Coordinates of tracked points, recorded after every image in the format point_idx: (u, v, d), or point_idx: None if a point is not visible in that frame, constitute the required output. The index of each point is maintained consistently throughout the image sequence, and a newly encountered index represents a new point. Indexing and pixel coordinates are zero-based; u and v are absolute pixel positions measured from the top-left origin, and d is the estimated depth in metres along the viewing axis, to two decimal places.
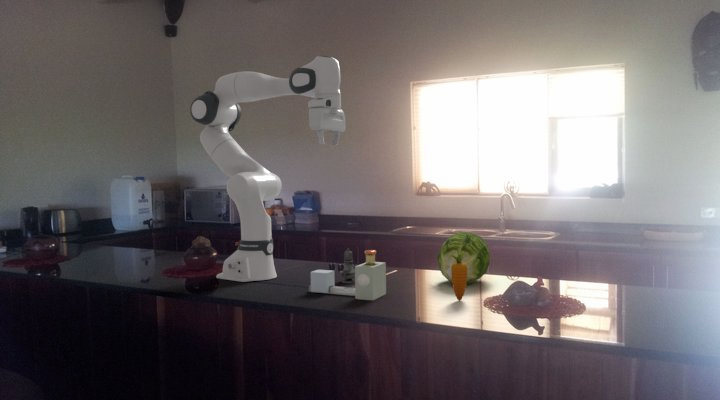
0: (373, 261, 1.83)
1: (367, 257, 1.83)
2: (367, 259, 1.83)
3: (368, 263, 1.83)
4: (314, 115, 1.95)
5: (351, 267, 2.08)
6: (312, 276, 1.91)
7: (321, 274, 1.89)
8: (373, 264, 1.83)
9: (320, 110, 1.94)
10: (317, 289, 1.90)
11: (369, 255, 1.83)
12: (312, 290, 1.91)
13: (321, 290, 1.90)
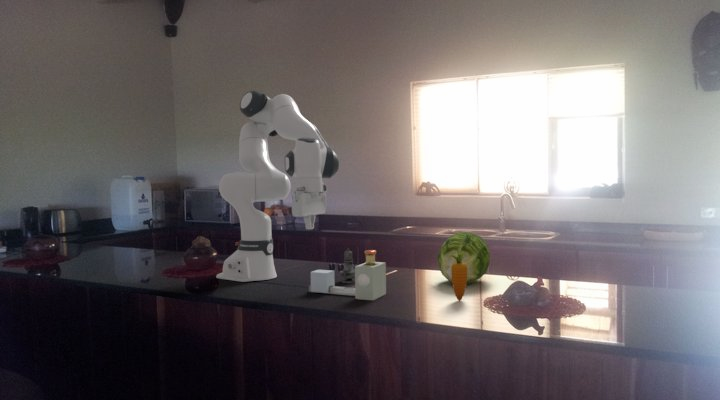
0: (373, 261, 1.83)
1: (367, 257, 1.83)
2: (367, 259, 1.83)
3: (368, 263, 1.83)
4: None
5: (351, 267, 2.08)
6: (312, 276, 1.91)
7: (321, 274, 1.89)
8: (373, 264, 1.83)
9: None
10: (317, 289, 1.90)
11: (369, 255, 1.83)
12: (312, 290, 1.91)
13: (321, 290, 1.90)
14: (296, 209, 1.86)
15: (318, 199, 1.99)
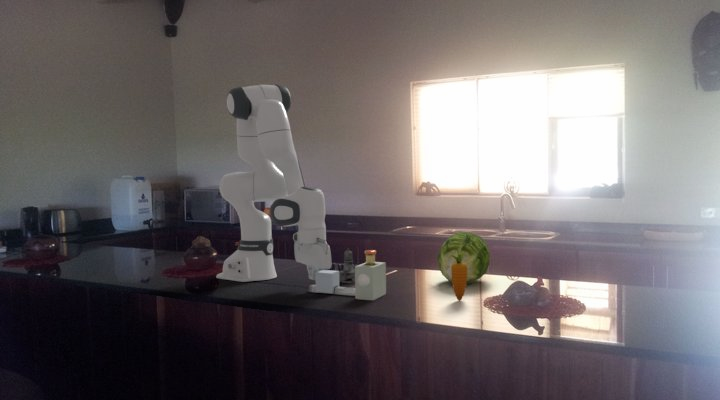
0: (373, 261, 1.83)
1: (367, 257, 1.83)
2: (367, 259, 1.83)
3: (368, 263, 1.83)
4: None
5: (351, 267, 2.08)
6: (317, 276, 1.90)
7: (326, 274, 1.88)
8: (373, 264, 1.83)
9: None
10: (322, 289, 1.89)
11: (369, 255, 1.83)
12: (317, 290, 1.90)
13: (325, 290, 1.89)
14: (326, 262, 1.84)
15: None
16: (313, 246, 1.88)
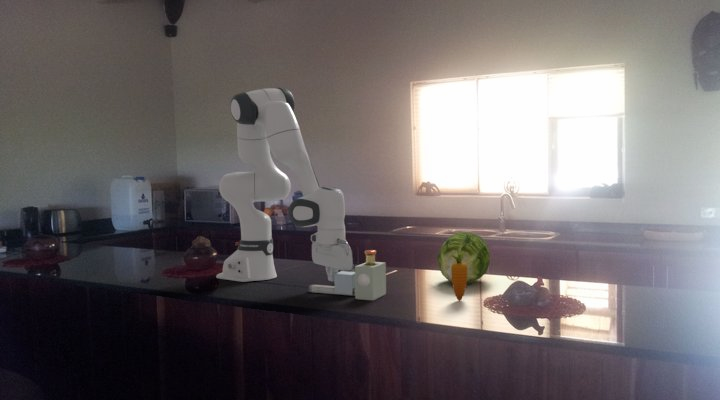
0: (373, 261, 1.83)
1: (367, 257, 1.83)
2: (367, 259, 1.83)
3: (368, 263, 1.83)
4: None
5: None
6: (336, 278, 1.87)
7: (345, 275, 1.86)
8: (373, 264, 1.83)
9: None
10: (341, 291, 1.86)
11: (369, 255, 1.83)
12: (336, 292, 1.87)
13: (345, 292, 1.86)
14: (348, 263, 1.81)
15: None
16: (333, 247, 1.85)
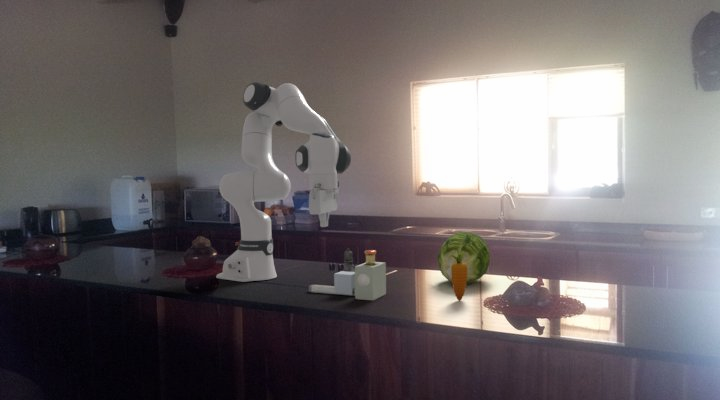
0: (373, 261, 1.83)
1: (367, 257, 1.83)
2: (367, 259, 1.83)
3: (368, 263, 1.83)
4: None
5: (351, 267, 2.08)
6: (336, 278, 1.87)
7: (345, 275, 1.86)
8: (373, 264, 1.83)
9: None
10: (341, 291, 1.86)
11: (369, 255, 1.83)
12: (336, 292, 1.87)
13: (345, 292, 1.86)
14: (314, 207, 1.81)
15: (332, 195, 1.94)
16: None
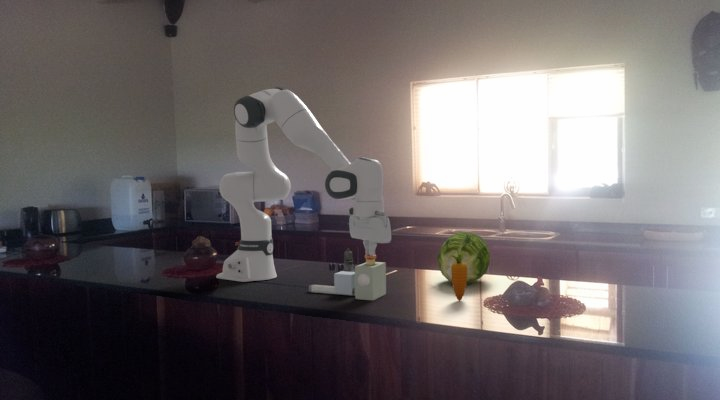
0: (373, 265, 1.83)
1: (367, 261, 1.83)
2: (367, 263, 1.83)
3: None
4: None
5: (351, 267, 2.08)
6: (336, 278, 1.87)
7: (345, 275, 1.86)
8: None
9: None
10: (341, 291, 1.86)
11: (369, 259, 1.83)
12: (336, 292, 1.87)
13: (345, 292, 1.86)
14: (386, 235, 1.75)
15: None
16: (371, 219, 1.79)
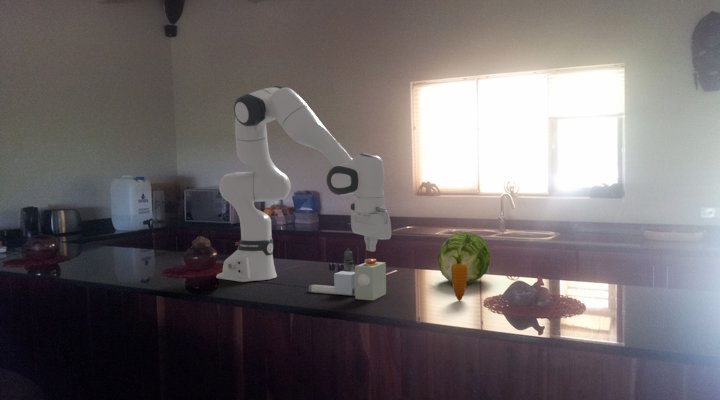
0: None
1: None
2: None
3: None
4: None
5: (351, 267, 2.08)
6: (336, 278, 1.87)
7: (345, 275, 1.86)
8: None
9: None
10: (341, 291, 1.86)
11: (369, 264, 1.83)
12: (336, 292, 1.87)
13: (345, 292, 1.86)
14: (386, 232, 1.75)
15: None
16: (372, 216, 1.79)
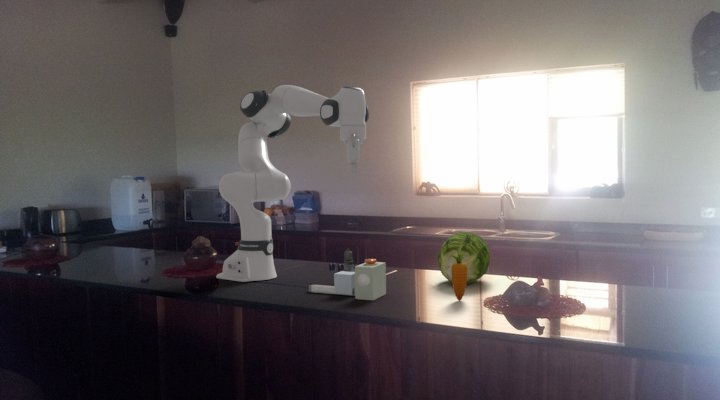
0: None
1: None
2: None
3: None
4: None
5: (351, 267, 2.08)
6: (336, 278, 1.87)
7: (345, 275, 1.86)
8: None
9: None
10: (341, 291, 1.86)
11: (369, 264, 1.83)
12: (336, 292, 1.87)
13: (345, 292, 1.86)
14: (353, 154, 1.90)
15: None
16: None
